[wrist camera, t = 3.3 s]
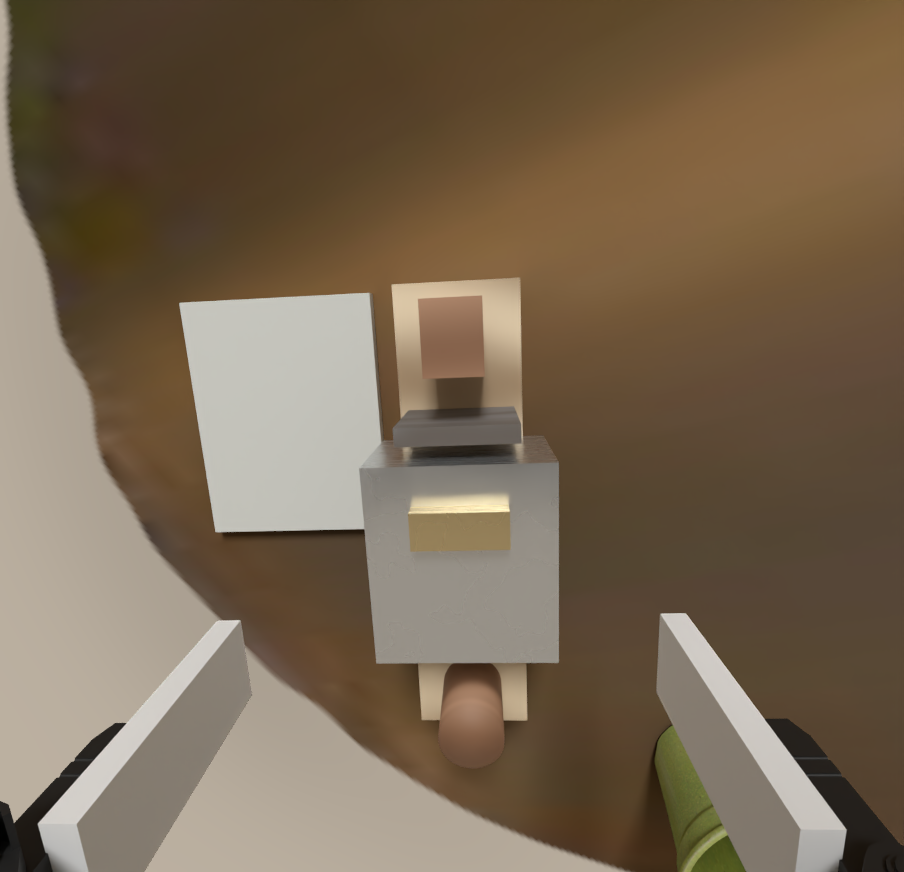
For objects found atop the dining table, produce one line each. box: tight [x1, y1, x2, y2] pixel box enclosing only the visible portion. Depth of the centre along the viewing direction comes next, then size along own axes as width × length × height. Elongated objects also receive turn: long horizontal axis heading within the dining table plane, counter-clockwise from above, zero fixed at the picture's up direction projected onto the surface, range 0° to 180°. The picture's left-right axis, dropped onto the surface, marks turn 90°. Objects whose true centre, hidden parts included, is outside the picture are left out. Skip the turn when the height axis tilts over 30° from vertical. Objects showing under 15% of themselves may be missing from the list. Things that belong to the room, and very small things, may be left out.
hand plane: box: [392, 278, 527, 768], centre depth 26 cm, size 24×6×10 cm, turn 3°
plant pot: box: [654, 725, 746, 872], centre depth 29 cm, size 9×9×9 cm
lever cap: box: [359, 435, 559, 663], centre depth 23 cm, size 9×8×6 cm
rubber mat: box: [179, 293, 384, 532], centre depth 30 cm, size 14×11×1 cm
